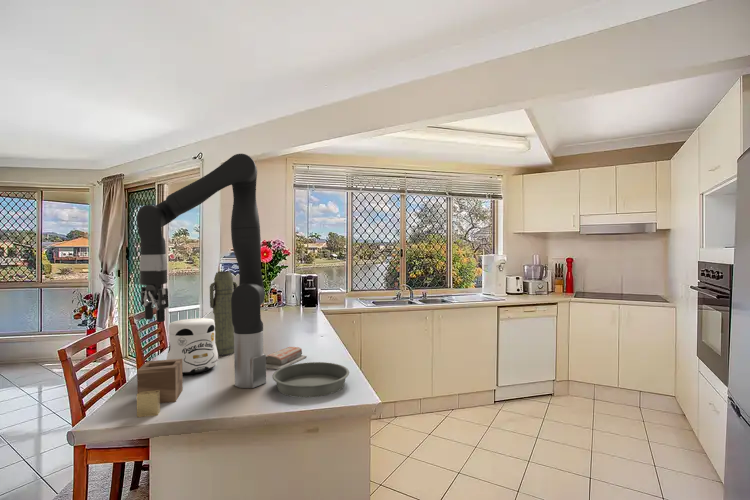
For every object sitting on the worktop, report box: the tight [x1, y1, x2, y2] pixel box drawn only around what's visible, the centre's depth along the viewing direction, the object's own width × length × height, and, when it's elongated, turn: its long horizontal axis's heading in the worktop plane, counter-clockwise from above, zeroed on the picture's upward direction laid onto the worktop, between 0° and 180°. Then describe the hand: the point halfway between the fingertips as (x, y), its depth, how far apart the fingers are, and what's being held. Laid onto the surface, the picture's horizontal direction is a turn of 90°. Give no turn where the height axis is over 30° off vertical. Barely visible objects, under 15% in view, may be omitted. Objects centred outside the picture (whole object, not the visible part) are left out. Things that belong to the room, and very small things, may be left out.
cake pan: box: [271, 361, 350, 398], centre depth 133 cm, size 25×25×4 cm
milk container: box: [165, 317, 219, 375], centre depth 151 cm, size 17×17×18 cm
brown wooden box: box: [136, 359, 184, 404], centre depth 123 cm, size 10×10×10 cm
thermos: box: [209, 270, 238, 357], centre depth 175 cm, size 9×12×35 cm
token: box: [136, 390, 161, 418], centre depth 111 cm, size 2×5×6 cm, turn 104°
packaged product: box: [266, 346, 307, 371], centre depth 160 cm, size 18×5×10 cm
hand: (154, 320), depth 129 cm, fingers open, 8 cm apart
